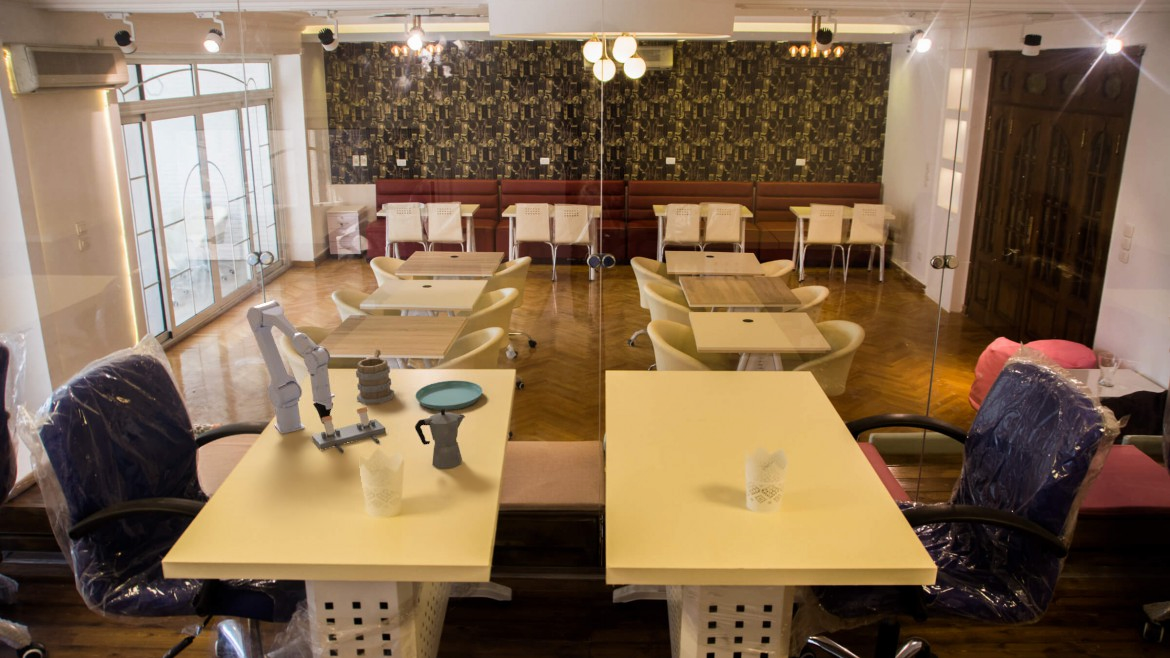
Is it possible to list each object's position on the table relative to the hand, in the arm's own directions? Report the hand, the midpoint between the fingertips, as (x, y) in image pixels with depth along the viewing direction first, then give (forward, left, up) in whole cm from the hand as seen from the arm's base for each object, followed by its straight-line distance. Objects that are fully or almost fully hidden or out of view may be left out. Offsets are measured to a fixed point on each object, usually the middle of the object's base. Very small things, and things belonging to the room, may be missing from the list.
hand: (325, 422), depth 297 cm
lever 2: (+5, +12, -2) cm, 13 cm away
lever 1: (+5, 0, -2) cm, 5 cm away
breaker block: (+8, +6, -5) cm, 11 cm away
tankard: (-27, +28, -5) cm, 39 cm away
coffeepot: (+43, +23, -5) cm, 49 cm away
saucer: (-5, +47, -6) cm, 48 cm away
